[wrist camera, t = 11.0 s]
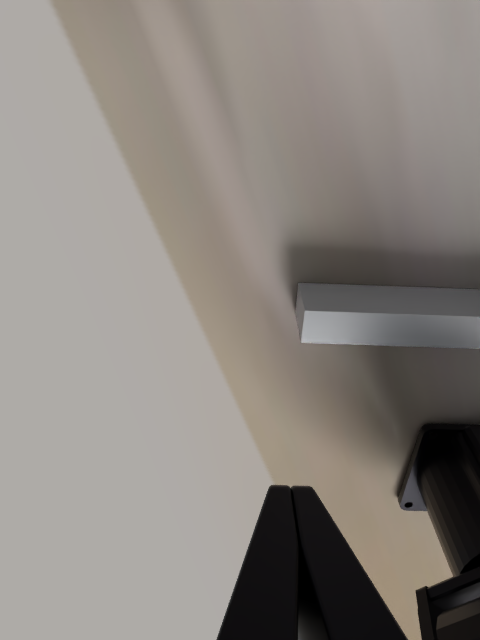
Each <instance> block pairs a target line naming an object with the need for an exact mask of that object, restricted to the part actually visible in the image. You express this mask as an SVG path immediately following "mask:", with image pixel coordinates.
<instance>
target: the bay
mask: <svg viewBox="0 0 480 640" xmlns="http://www.w3.org/2000/svg"><path fill="white" fill-rule="evenodd" d="M295 315H296V320H297V325H298V330H299V336H300V341H301V343H320V344H350V345H379V346H408V347H437V348H466V349H480V289H461V288H432V287H404V286H376V285H347V284H319V283H298V291H297V300H296V309H295Z"/></svg>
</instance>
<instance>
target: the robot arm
mask: <svg viewBox="0 0 480 640" xmlns="http://www.w3.org/2000/svg"><path fill="white" fill-rule="evenodd" d="M430 433H431V434H430ZM398 502H399V505H400V507H401V509H403V510H408V511H428V514H429V516H430V519H431V522H432V524H433V527H434V529H435V532H436V534H437V537H438V539H439V542H440V544H441V547H442V549H443V552H444V554H445V557H446V559H447V562H448V564H449V567H450V569H451V572H452V574H453V577H452V578H449V579H447V580H445V581H442V582H440V583H438V584H435V585H433V586H431V587H427V586H425V587H422V588H420V589H418V590H416V597H417V604H418V616H419V623H420V630H421V637H422V640H480V425H464V424H433V423H432V424H427V425H424V426H423V427H422V428H421V430H420V432H419V436H418V439H417V442H416V445H415V448H414V451H413V454H412V457H411V460H410V464H409V467H408V470H407V473H406V476H405V479H404V482H403V485H402V488H401V492H400V495H399V498H398ZM217 640H408V639H407V637H406V636H405V634H404V633H403V631H402V629H401V628H400V626H399V625H398V623H397V621H396V620H395V618H394V617H393V615H392V613H391V612H390V610H389V609H388V607H387V605H386V604H385V602H384V601H383V599H382V597H381V596H380V594H379V593H378V591H377V589H376V588H375V586H374V585H373V583H372V581H371V580H370V578H369V577H368V575H367V573H366V572H365V570H364V569H363V567H362V565H361V564H360V562H359V561H358V559H357V557H356V556H355V554H354V553H353V551H352V549H351V548H350V546H349V545H348V543H347V541H346V540H345V538H344V537H343V535H342V533H341V532H340V530H339V529H338V527H337V525H336V524H335V522H334V521H333V519H332V517H331V516H330V514H329V513H328V511H327V509H326V508H325V506H324V505H323V503H322V501H321V500H320V498H319V497H318V495H317V493H316V492H315V490H314V489H313V488H312V487H310V486H292V487H291V488H290V487H289V486H287V485H271V486H270V487H269V489H268V491H267V494H266V497H265V500H264V503H263V506H262V509H261V512H260V515H259V518H258V520H257V523H256V526H255V529H254V532H253V535H252V538H251V541H250V544H249V547H248V550H247V552H246V555H245V558H244V561H243V564H242V567H241V570H240V573H239V576H238V579H237V581H236V584H235V587H234V591H233V593H232V596H231V599H230V602H229V605H228V608H227V611H226V613H225V616H224V619H223V622H222V625H221V628H220V631H219V634H218V637H217Z"/></svg>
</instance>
